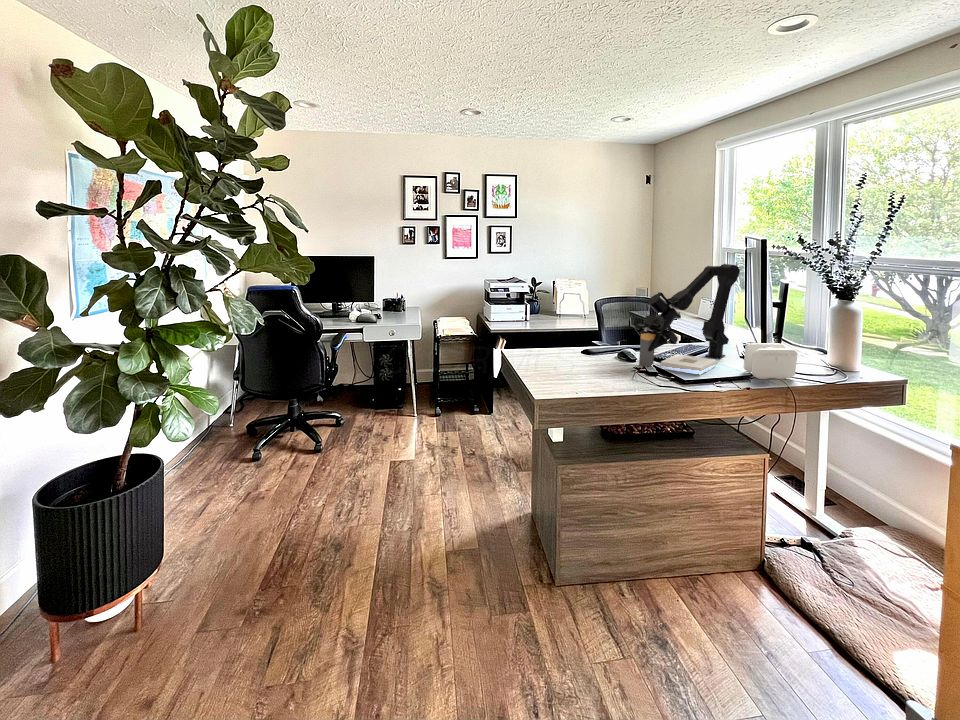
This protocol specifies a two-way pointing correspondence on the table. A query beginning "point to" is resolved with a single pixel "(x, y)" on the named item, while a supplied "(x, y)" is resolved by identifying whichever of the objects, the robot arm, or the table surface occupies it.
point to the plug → (646, 350)
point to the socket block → (688, 362)
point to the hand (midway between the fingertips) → (644, 350)
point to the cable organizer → (770, 360)
